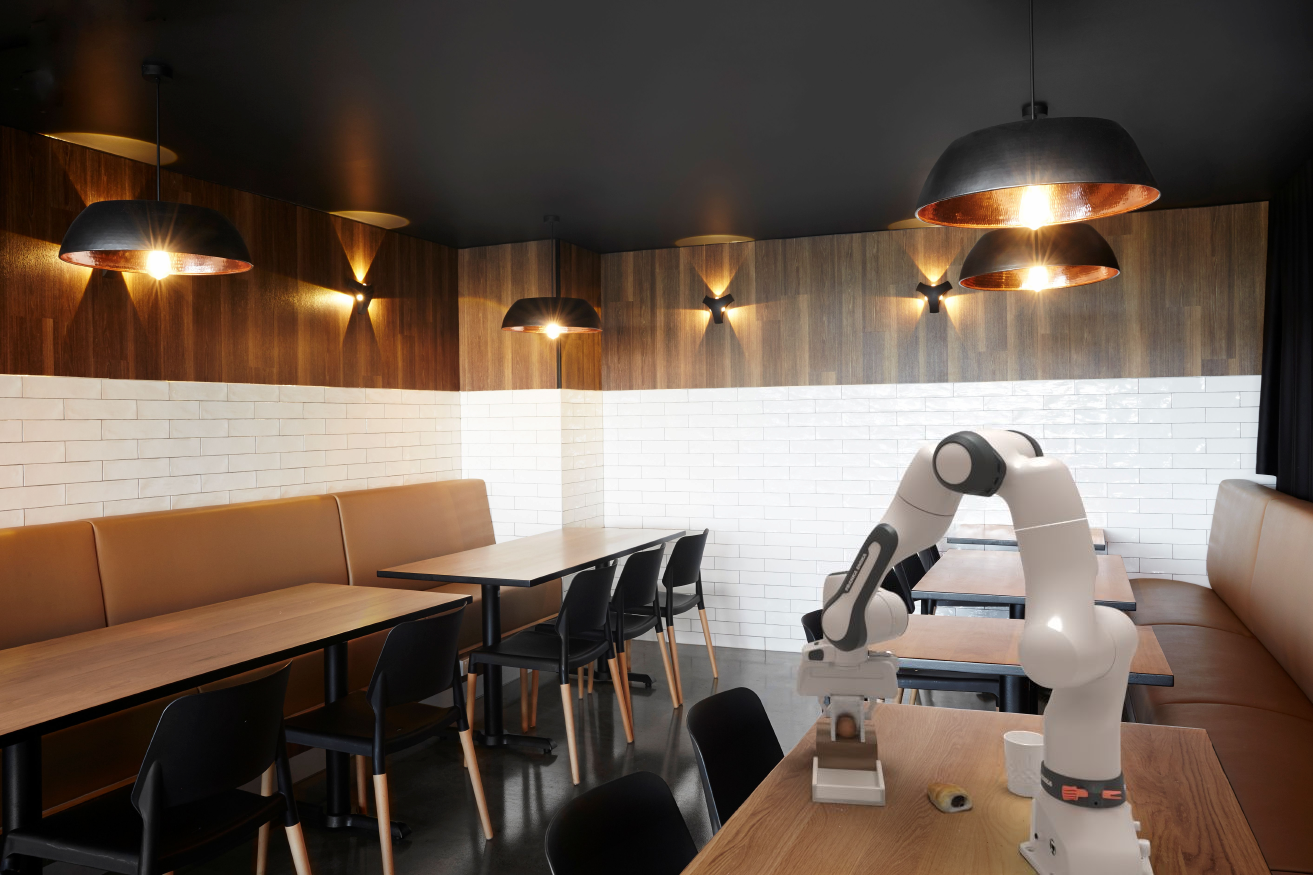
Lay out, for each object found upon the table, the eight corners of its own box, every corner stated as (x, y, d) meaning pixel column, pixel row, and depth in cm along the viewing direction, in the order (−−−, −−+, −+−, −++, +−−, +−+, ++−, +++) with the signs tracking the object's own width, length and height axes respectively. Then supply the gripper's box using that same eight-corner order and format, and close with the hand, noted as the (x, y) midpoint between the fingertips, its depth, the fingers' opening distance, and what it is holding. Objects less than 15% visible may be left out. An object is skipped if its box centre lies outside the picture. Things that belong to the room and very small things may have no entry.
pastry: (917, 794, 166) (917, 774, 166) (950, 791, 168) (950, 770, 168) (943, 815, 157) (943, 793, 157) (978, 811, 158) (977, 790, 158)
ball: (855, 729, 182) (856, 742, 178) (836, 729, 183) (836, 741, 179) (856, 713, 181) (857, 725, 177) (836, 712, 181) (836, 724, 178)
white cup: (1056, 789, 167) (1055, 736, 167) (1041, 802, 161) (1040, 747, 161) (1014, 779, 172) (1013, 727, 172) (997, 791, 166) (996, 738, 166)
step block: (878, 774, 176) (877, 744, 176) (816, 770, 178) (816, 741, 178) (875, 752, 187) (874, 724, 187) (817, 749, 190) (816, 721, 190)
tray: (885, 805, 161) (885, 789, 161) (812, 801, 163) (812, 785, 163) (880, 775, 175) (880, 760, 175) (813, 771, 178) (813, 756, 178)
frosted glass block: (865, 741, 176) (864, 696, 176) (831, 740, 177) (830, 695, 177) (864, 731, 182) (863, 687, 182) (831, 730, 183) (830, 686, 183)
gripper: (897, 647, 181) (899, 715, 181) (796, 644, 185) (797, 711, 185) (899, 654, 174) (901, 725, 174) (794, 652, 179) (796, 720, 178)
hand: (847, 718), depth 180 cm, fingers closed on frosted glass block, 7 cm apart
